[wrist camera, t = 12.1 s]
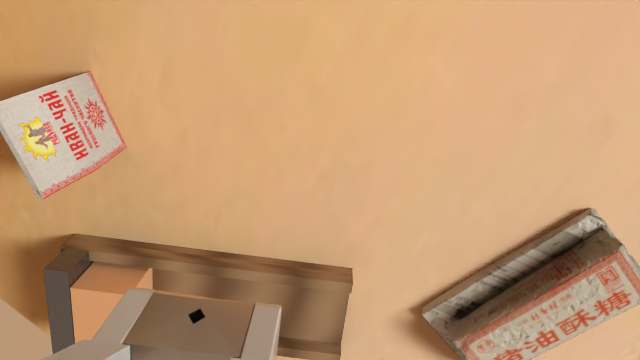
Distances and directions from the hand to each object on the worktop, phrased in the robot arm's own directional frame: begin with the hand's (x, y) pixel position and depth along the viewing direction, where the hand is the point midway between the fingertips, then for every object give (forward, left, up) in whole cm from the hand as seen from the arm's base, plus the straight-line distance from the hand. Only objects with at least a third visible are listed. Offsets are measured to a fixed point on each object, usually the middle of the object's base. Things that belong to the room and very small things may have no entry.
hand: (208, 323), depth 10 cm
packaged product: (+23, -18, -32) cm, 43 cm away
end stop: (-19, -22, -30) cm, 42 cm away
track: (-7, -22, -31) cm, 39 cm away
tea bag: (-18, -6, -31) cm, 37 cm away
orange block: (-15, -22, -31) cm, 41 cm away
